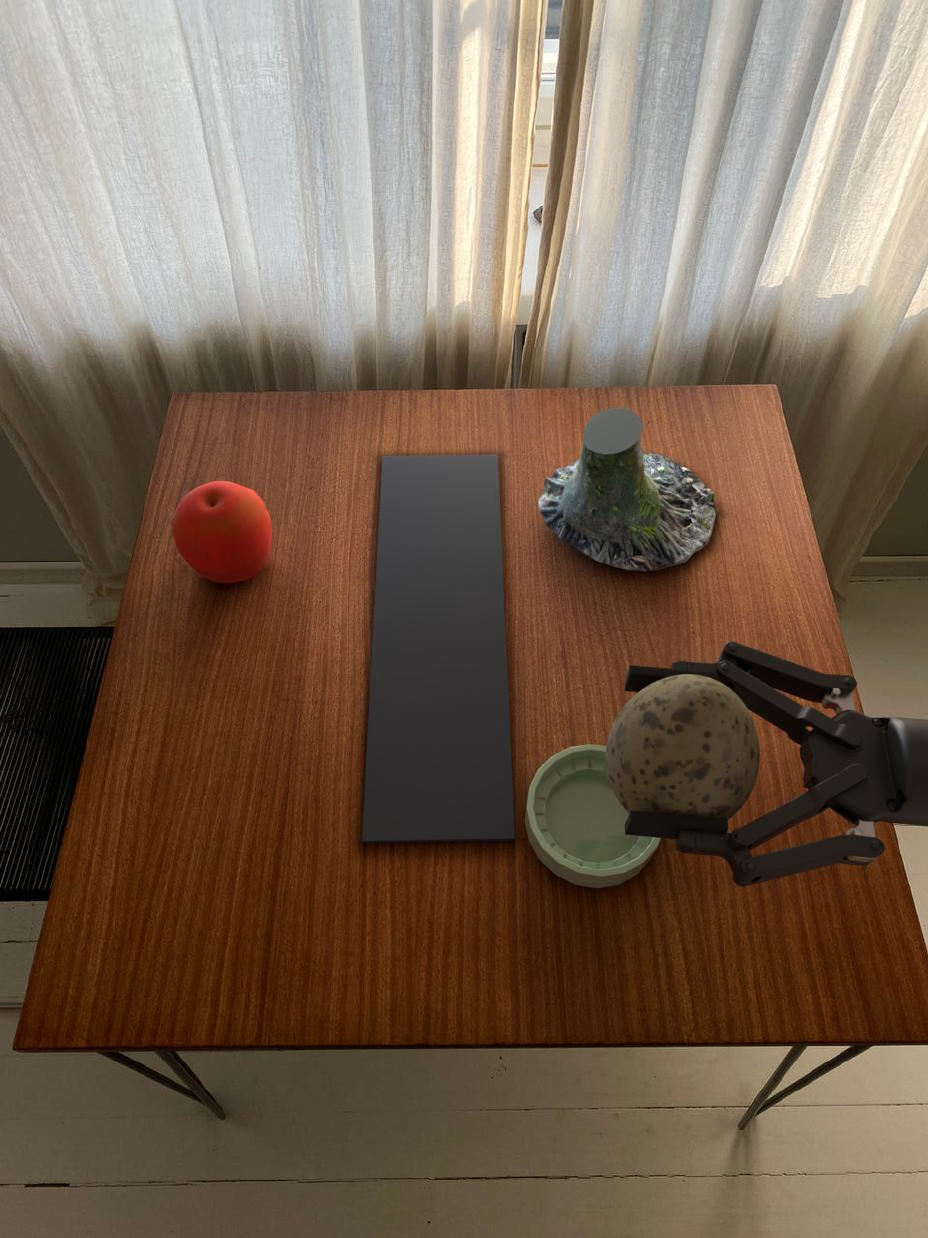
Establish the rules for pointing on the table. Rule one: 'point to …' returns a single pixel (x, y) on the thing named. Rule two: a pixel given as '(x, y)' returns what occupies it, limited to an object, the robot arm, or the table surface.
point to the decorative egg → (684, 749)
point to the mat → (439, 657)
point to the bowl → (583, 821)
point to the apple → (223, 531)
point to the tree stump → (627, 500)
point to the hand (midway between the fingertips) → (627, 747)
